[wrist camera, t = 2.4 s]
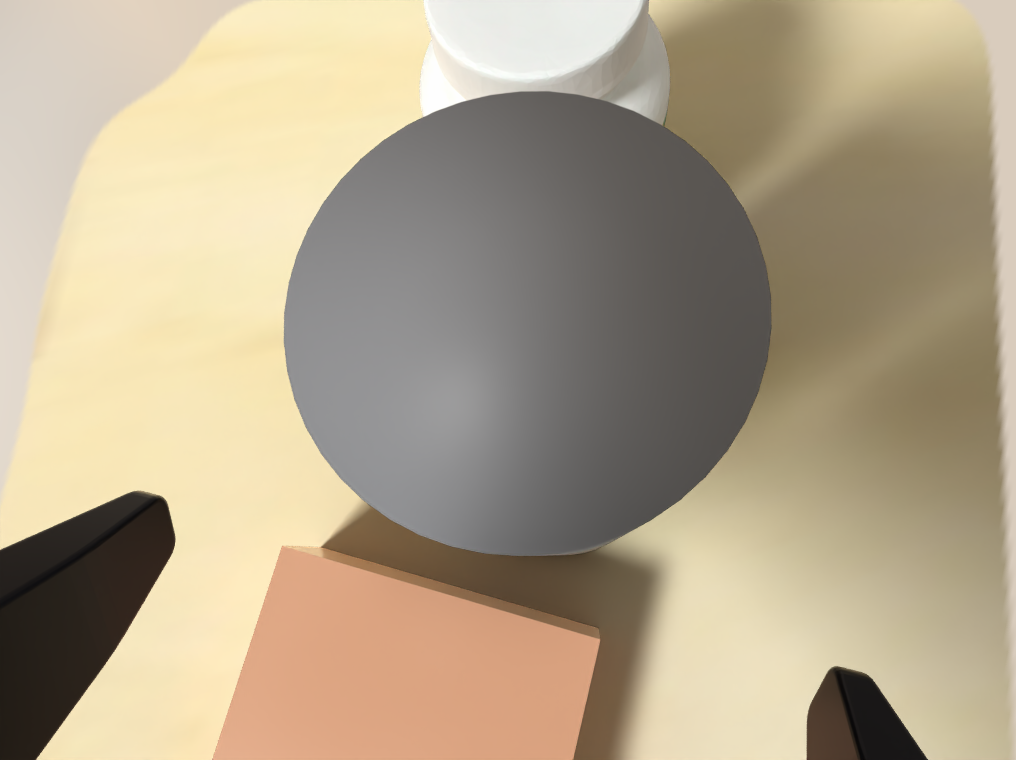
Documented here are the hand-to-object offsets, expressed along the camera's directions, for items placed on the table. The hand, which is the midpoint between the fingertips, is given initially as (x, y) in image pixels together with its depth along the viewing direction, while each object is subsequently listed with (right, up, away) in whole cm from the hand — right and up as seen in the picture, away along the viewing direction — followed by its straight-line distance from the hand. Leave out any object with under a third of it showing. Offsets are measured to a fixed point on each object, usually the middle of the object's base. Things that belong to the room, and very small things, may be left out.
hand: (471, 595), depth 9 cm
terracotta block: (-2, -7, +10) cm, 12 cm away
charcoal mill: (+2, 0, +10) cm, 11 cm away
